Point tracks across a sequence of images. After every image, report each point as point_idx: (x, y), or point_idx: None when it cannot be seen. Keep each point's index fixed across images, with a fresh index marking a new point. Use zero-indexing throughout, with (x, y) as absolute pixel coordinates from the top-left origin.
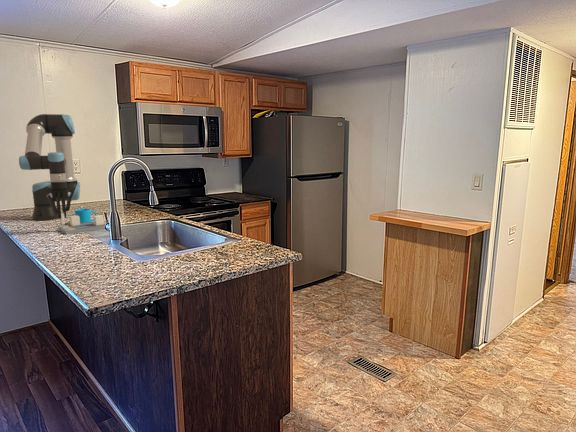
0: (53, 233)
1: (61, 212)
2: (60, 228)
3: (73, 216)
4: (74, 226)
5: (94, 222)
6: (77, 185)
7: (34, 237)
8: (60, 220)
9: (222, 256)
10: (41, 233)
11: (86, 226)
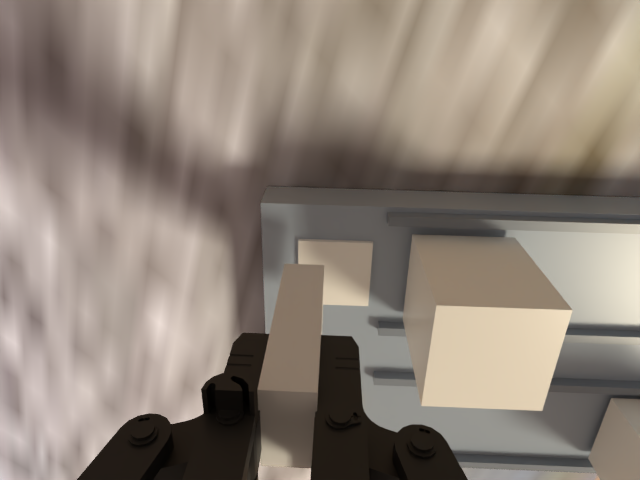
0: (188, 298)
1: (278, 438)
2: (264, 295)
3: (477, 358)
4: None
5: (621, 438)
6: None
7: (11, 342)
8: (278, 292)
9: None
10: (76, 210)
11: None
